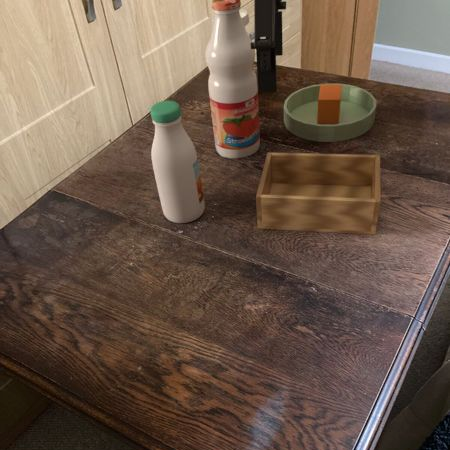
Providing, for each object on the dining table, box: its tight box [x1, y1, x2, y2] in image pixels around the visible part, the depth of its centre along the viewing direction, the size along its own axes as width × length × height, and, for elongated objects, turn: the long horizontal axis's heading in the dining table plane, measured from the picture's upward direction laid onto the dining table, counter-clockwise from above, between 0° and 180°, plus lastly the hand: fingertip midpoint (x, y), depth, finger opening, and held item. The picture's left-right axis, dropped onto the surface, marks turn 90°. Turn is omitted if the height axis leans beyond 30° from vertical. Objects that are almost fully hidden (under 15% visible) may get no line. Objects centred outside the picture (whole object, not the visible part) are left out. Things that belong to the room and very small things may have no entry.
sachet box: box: [317, 83, 343, 125], centre depth 105 cm, size 4×7×6 cm, turn 169°
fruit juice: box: [204, 0, 261, 159], centre depth 93 cm, size 9×9×28 cm
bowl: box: [283, 82, 377, 143], centre depth 106 cm, size 19×19×4 cm
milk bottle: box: [150, 100, 206, 224], centre depth 83 cm, size 8×8×20 cm
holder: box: [255, 151, 382, 236], centre depth 85 cm, size 20×14×7 cm
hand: (271, 72), depth 79 cm, fingers open, 13 cm apart
